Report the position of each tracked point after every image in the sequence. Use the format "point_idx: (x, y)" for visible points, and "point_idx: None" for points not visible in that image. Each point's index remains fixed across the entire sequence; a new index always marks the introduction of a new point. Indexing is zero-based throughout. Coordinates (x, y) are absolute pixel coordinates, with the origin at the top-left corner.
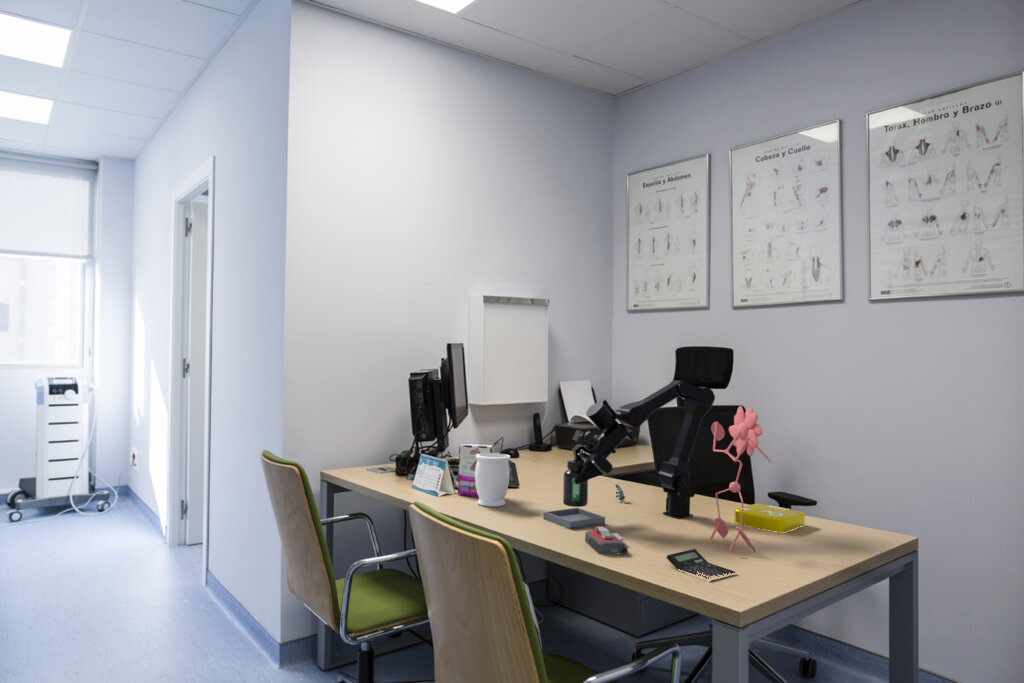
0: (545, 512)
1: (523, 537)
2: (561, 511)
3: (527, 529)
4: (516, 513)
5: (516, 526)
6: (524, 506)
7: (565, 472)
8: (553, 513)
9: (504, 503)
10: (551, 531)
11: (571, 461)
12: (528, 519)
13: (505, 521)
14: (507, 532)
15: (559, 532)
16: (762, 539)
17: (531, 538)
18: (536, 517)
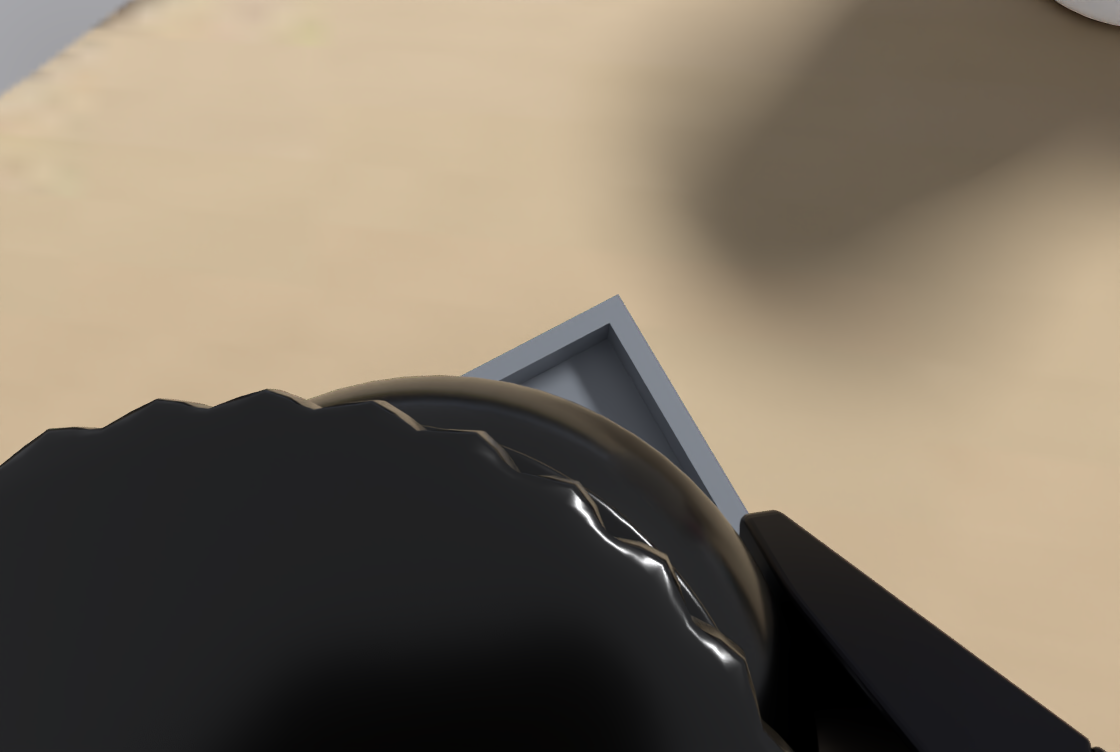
0: (591, 309)
1: (45, 106)
2: (710, 499)
3: (265, 152)
4: (801, 108)
5: (359, 80)
6: (1104, 196)
7: (369, 395)
8: (651, 405)
9: (1107, 13)
10: (189, 334)
11: (102, 628)
12: (591, 188)
13: (515, 12)
14: (192, 10)
15: (151, 398)
16: None
17: (10, 159)
18: (670, 263)
